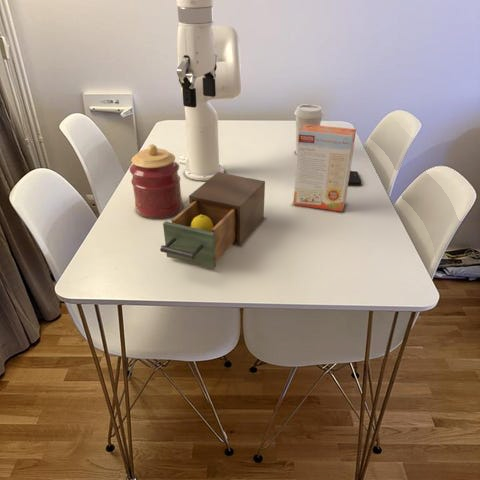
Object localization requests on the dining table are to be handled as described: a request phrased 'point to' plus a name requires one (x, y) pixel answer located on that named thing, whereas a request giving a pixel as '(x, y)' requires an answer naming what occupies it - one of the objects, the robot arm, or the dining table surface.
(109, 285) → the dining table surface
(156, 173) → the kitchen canister
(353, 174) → the cell phone
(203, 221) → the lemon
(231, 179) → the cabinet
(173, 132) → the dining table surface
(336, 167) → the cracker box
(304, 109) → the coffee cup
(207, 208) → the drawer
